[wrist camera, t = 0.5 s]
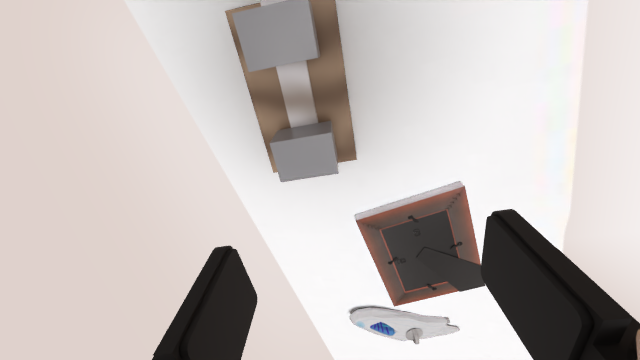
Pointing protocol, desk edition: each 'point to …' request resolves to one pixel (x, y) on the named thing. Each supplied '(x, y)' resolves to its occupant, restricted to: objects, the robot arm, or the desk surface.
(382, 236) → the picture frame
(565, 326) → the robot arm
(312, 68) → the rail board
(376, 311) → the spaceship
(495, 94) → the desk surface
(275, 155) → the mounted modules
